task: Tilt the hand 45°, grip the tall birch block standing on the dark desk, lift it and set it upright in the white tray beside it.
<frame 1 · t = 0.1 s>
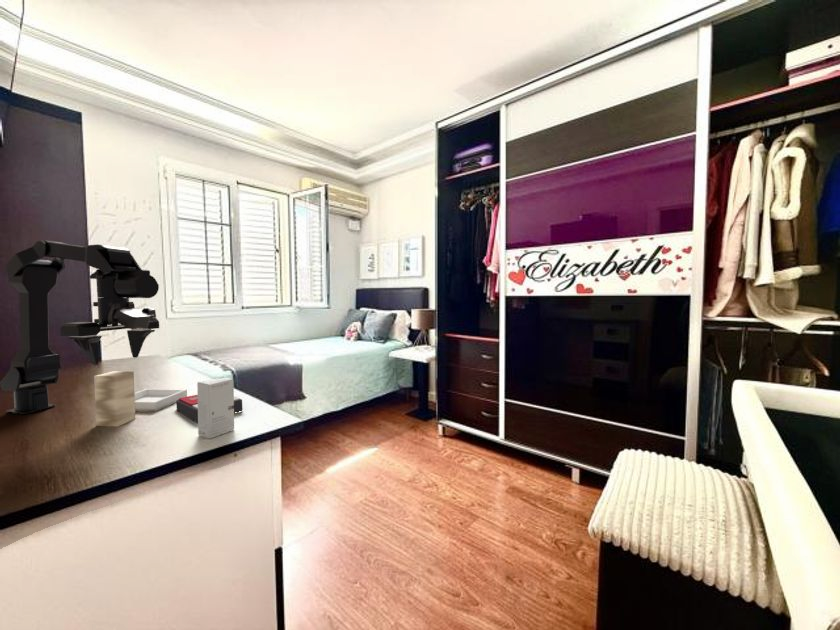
hand: (116, 360, 83), 15 cm above the table, tool pointing down, fingers open, 9 cm apart
white tray: (150, 403, 96), on the table
skincare box: (216, 433, 77), on the table
birch block: (116, 422, 82), on the table
calculator: (209, 412, 91), on the table
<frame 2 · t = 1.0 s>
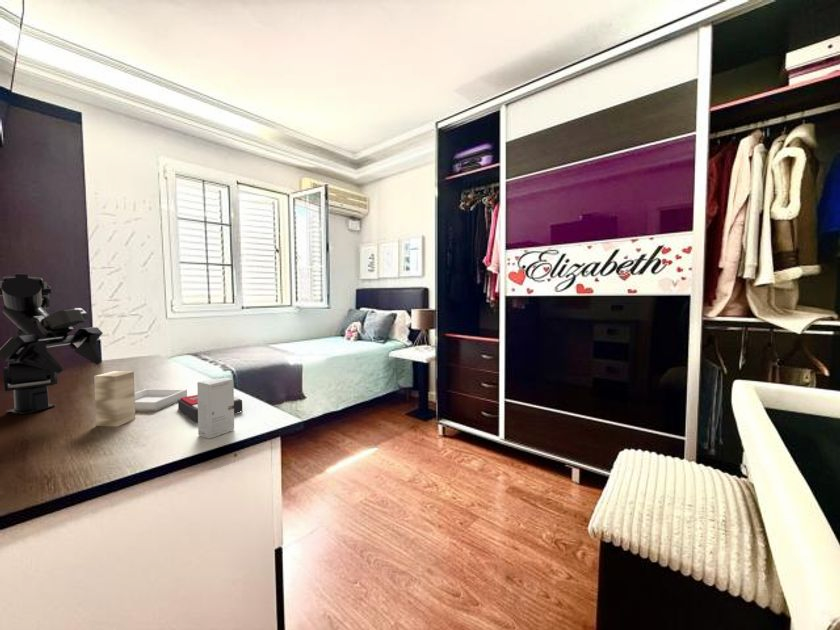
hand: (81, 367, 81), 13 cm above the table, tool tilted 45°, fingers open, 9 cm apart
nothing on the table moved.
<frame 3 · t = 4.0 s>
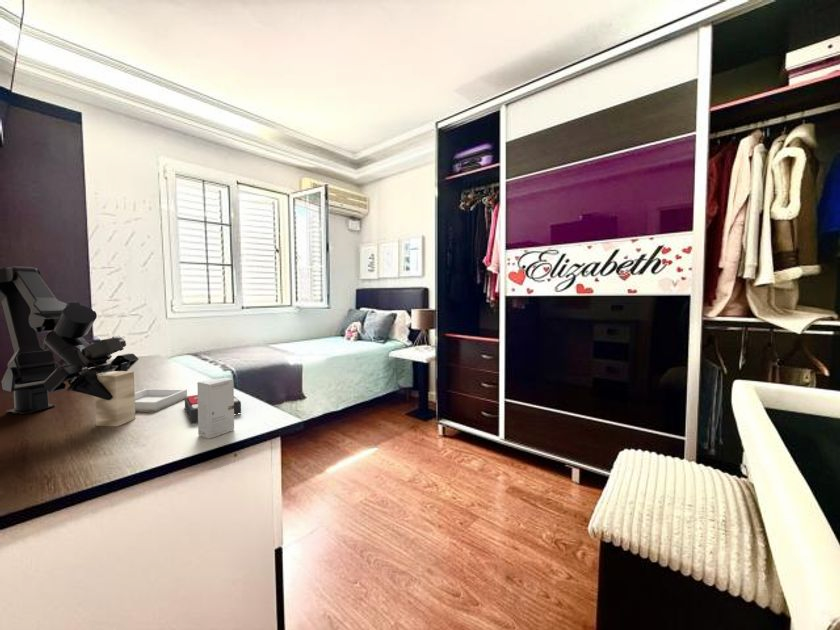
hand: (121, 395, 82), 7 cm above the table, tool tilted 45°, fingers closed on birch block, 5 cm apart
birch block: (116, 422, 82), on the table, touching gripper
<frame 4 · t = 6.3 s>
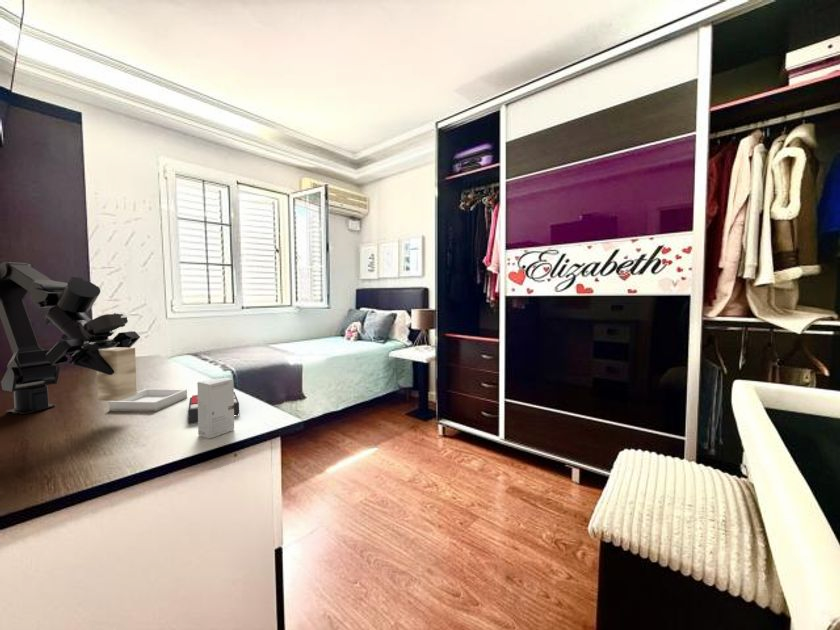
hand: (122, 371, 82), 12 cm above the table, tool tilted 45°, fingers closed on birch block, 5 cm apart
birch block: (117, 397, 83), point 6 cm above the table, touching gripper
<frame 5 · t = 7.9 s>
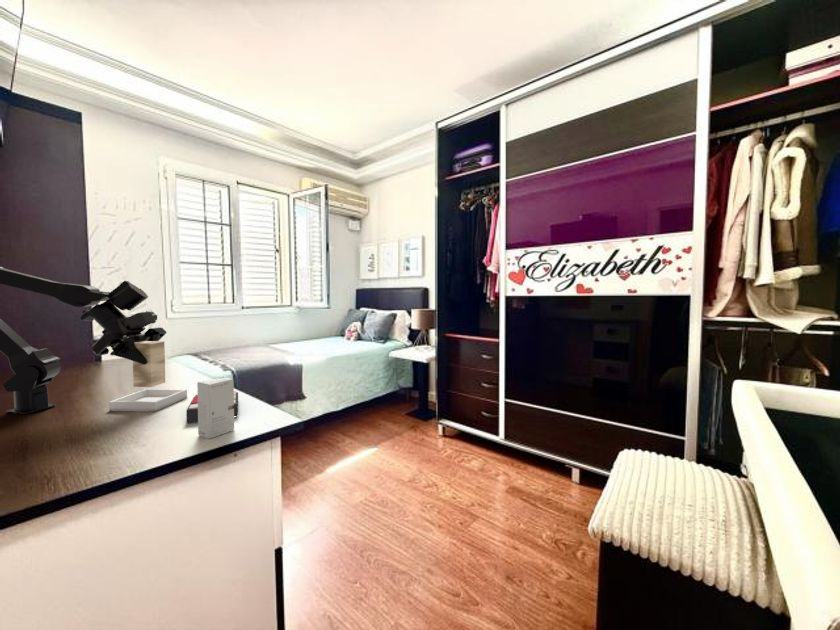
hand: (154, 361, 95), 12 cm above the table, tool tilted 45°, fingers closed on birch block, 5 cm apart
birch block: (149, 384, 95), point 6 cm above the table, touching gripper
when the fingers open (9 cm above the table, at t = 9.0 s): birch block drops 1 cm, resting on white tray.
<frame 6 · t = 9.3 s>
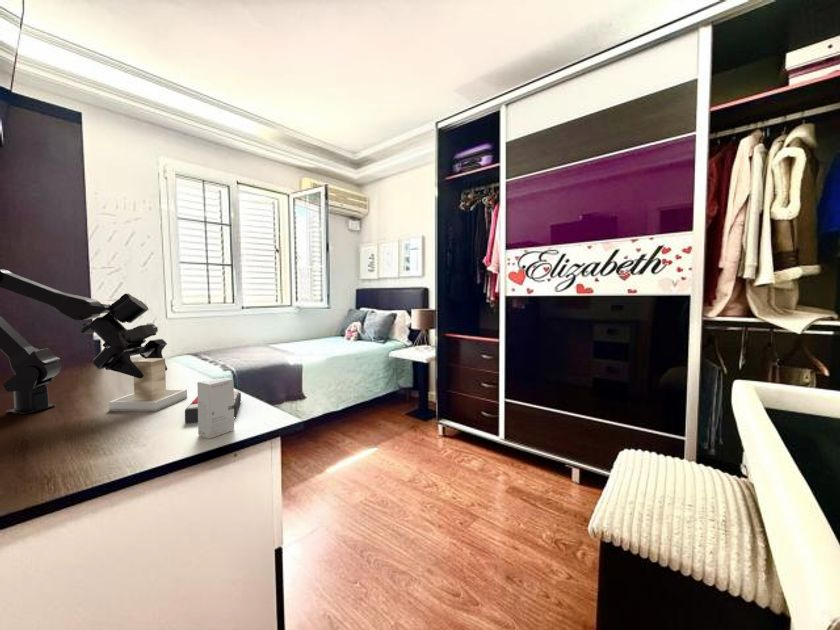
hand: (154, 373, 95), 9 cm above the table, tool tilted 45°, fingers open, 8 cm apart
birch block: (150, 401, 96), point 1 cm above the table, touching white tray
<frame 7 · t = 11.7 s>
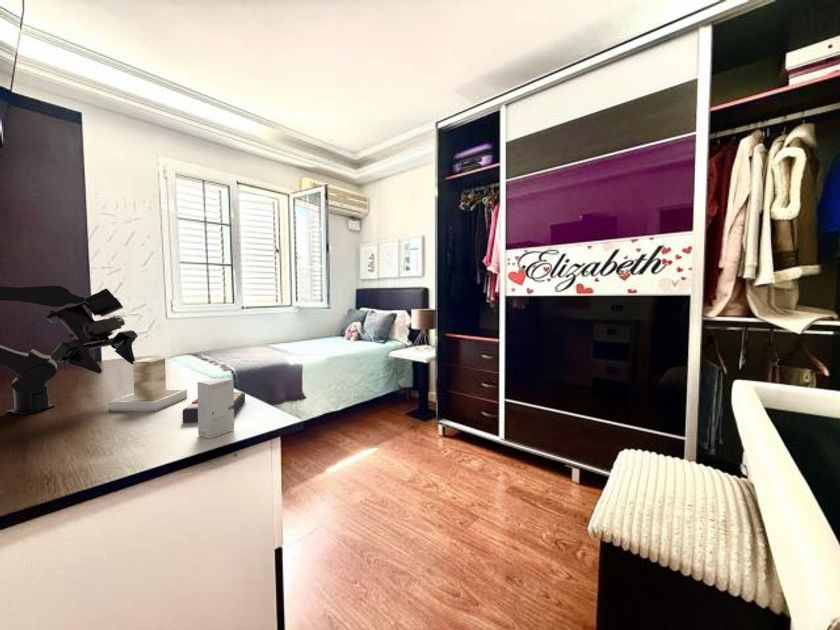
hand: (118, 367, 95), 10 cm above the table, tool tilted 40°, fingers open, 9 cm apart
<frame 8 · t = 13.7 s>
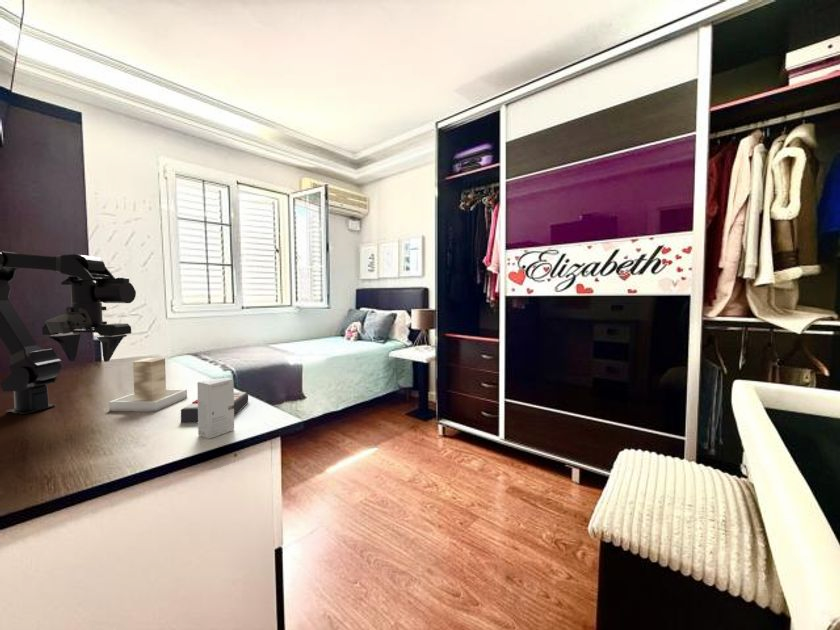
hand: (89, 361, 90), 13 cm above the table, tool pointing down, fingers open, 9 cm apart
at the end: birch block inside the target area on the white tray (0.0 cm from its centre), point 0.6 cm above the white tray's base; birch block tilted 0°; the gripper is holding nothing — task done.
